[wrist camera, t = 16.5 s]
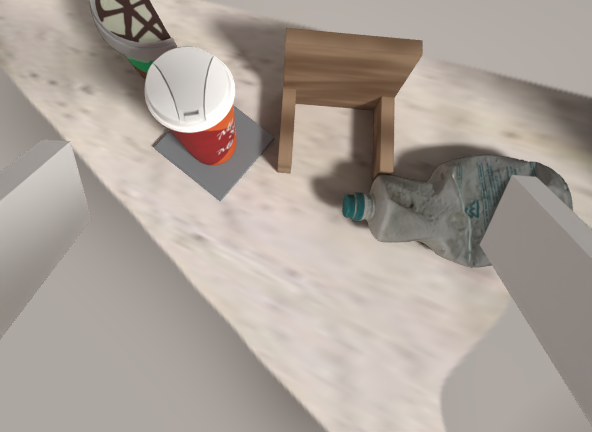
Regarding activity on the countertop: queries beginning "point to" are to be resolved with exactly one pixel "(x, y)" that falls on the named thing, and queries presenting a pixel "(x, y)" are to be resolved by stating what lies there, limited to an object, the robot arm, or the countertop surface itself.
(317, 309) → the countertop surface
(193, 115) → the paper cup
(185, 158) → the charcoal mat
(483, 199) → the crushed grey plastic bottle
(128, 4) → the food container
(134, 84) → the countertop surface
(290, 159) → the walnut rack
